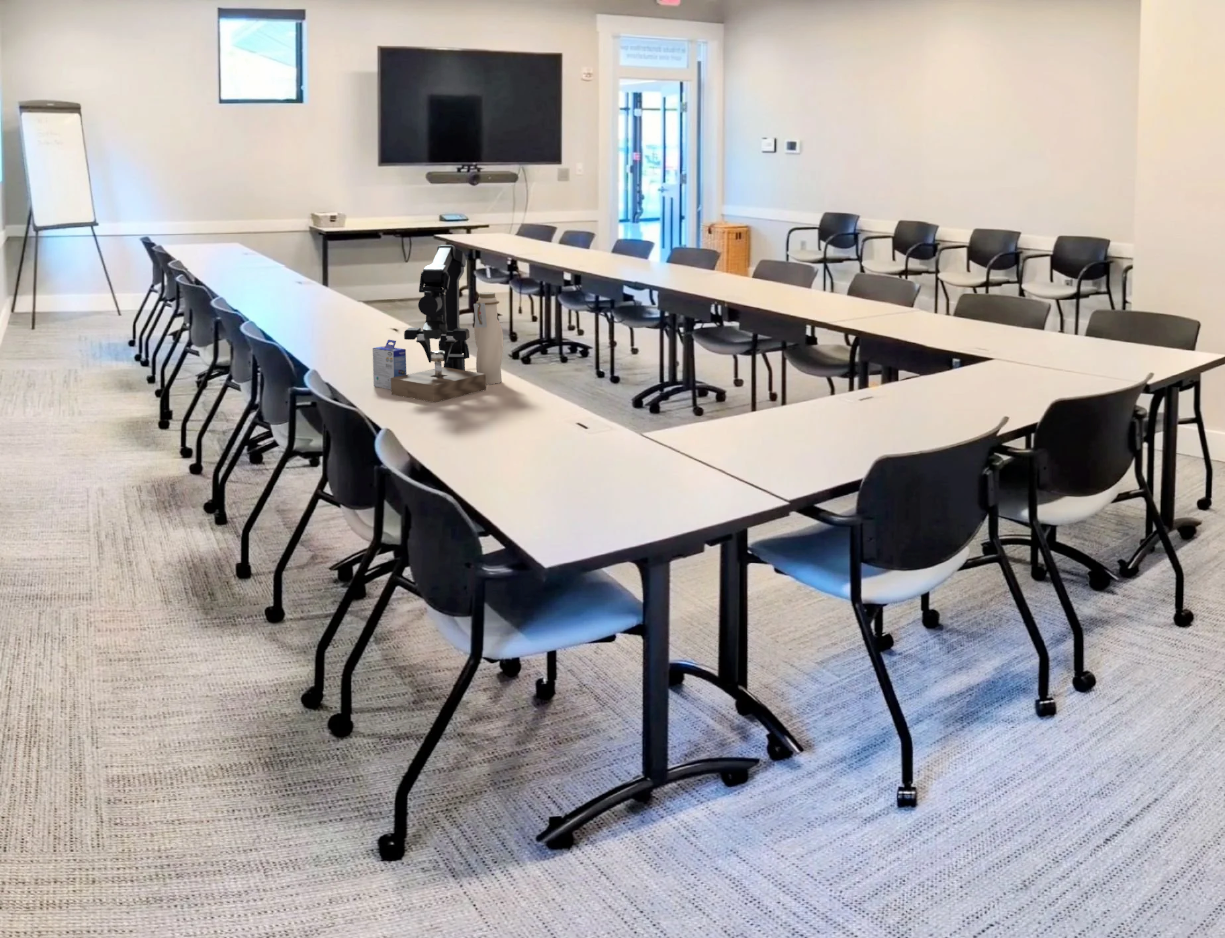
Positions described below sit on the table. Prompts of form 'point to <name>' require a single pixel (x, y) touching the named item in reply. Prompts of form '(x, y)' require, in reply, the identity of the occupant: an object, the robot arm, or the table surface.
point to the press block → (438, 384)
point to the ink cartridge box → (388, 364)
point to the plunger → (437, 361)
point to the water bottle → (488, 338)
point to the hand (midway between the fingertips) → (438, 362)
